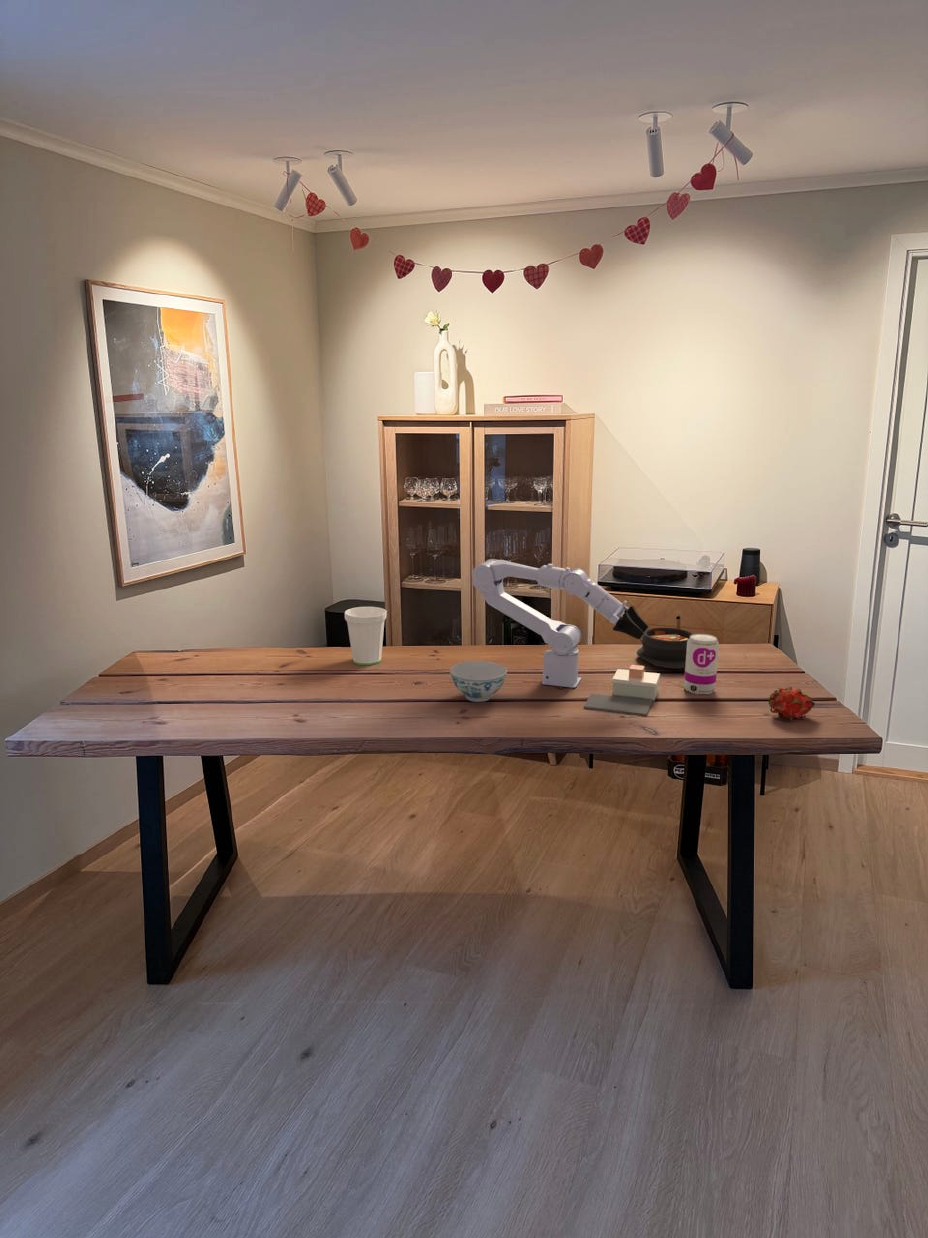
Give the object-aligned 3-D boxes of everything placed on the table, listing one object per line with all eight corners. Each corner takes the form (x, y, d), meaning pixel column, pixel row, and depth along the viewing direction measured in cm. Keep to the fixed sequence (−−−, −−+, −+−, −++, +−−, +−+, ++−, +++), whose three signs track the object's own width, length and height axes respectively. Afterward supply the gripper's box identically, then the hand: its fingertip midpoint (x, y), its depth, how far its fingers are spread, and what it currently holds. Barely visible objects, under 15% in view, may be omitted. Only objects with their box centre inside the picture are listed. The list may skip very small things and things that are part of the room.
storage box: (612, 696, 229) (613, 682, 228) (617, 686, 237) (618, 672, 236) (654, 701, 226) (655, 686, 225) (658, 691, 233) (658, 677, 232)
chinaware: (480, 712, 218) (481, 683, 216) (438, 697, 228) (438, 670, 226) (518, 696, 229) (518, 669, 227) (476, 683, 239) (476, 657, 237)
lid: (612, 685, 228) (612, 669, 227) (617, 675, 236) (618, 660, 235) (655, 690, 225) (656, 674, 224) (659, 680, 232) (660, 664, 231)
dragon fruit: (761, 721, 217) (807, 727, 217) (776, 713, 209) (824, 719, 209) (760, 689, 220) (806, 695, 220) (775, 680, 212) (822, 686, 213)
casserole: (630, 647, 271) (631, 622, 269) (689, 648, 271) (691, 622, 268) (643, 674, 247) (645, 646, 245) (708, 674, 247) (711, 646, 244)
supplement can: (716, 696, 229) (720, 642, 225) (684, 694, 231) (688, 641, 227) (713, 686, 237) (718, 634, 233) (683, 684, 239) (686, 632, 235)
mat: (583, 708, 221) (583, 706, 221) (591, 695, 230) (591, 693, 230) (646, 715, 216) (646, 714, 216) (651, 702, 225) (652, 700, 225)
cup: (352, 653, 265) (350, 605, 261) (392, 655, 263) (390, 607, 259) (341, 666, 253) (339, 616, 249) (382, 668, 251) (381, 618, 247)
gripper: (606, 595, 222) (648, 627, 220) (616, 585, 235) (657, 615, 233) (590, 616, 224) (632, 648, 222) (601, 605, 238) (641, 635, 236)
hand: (644, 633), depth 228 cm, fingers open, 7 cm apart
